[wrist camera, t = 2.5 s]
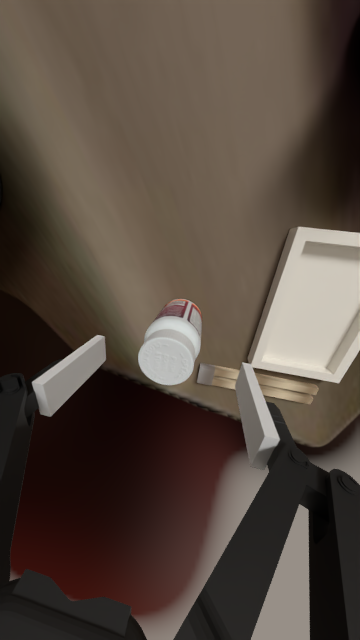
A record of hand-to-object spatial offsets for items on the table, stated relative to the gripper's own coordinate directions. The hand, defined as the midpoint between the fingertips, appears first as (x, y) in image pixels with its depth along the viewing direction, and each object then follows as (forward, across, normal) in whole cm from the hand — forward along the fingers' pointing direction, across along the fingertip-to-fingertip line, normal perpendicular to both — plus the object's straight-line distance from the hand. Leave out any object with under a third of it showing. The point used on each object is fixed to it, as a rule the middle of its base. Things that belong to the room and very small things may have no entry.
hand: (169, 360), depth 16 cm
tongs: (+11, +13, -9) cm, 19 cm away
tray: (+10, +17, +4) cm, 20 cm away
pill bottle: (+11, 0, 0) cm, 11 cm away
